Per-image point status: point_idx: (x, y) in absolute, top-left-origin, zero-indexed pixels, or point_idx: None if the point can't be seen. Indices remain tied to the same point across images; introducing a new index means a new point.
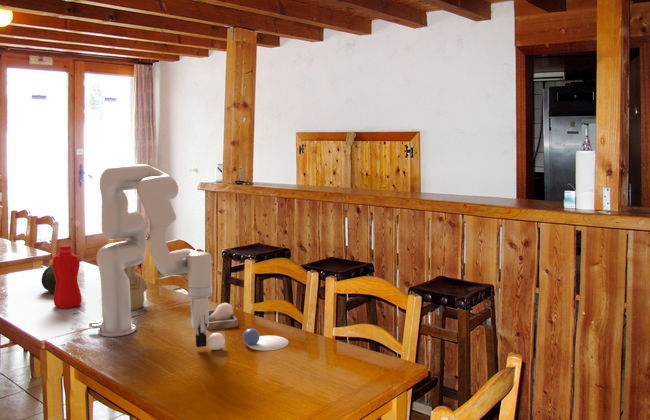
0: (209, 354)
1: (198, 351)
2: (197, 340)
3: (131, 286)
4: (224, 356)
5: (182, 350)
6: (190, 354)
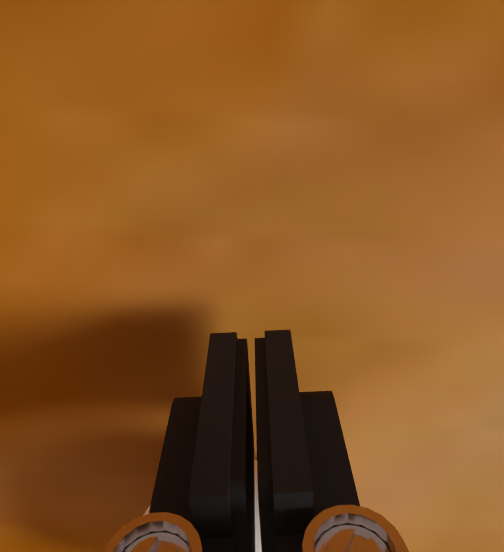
0: (94, 418)
1: (226, 314)
2: (200, 421)
3: None
4: (20, 528)
5: (337, 89)
6: (127, 207)
